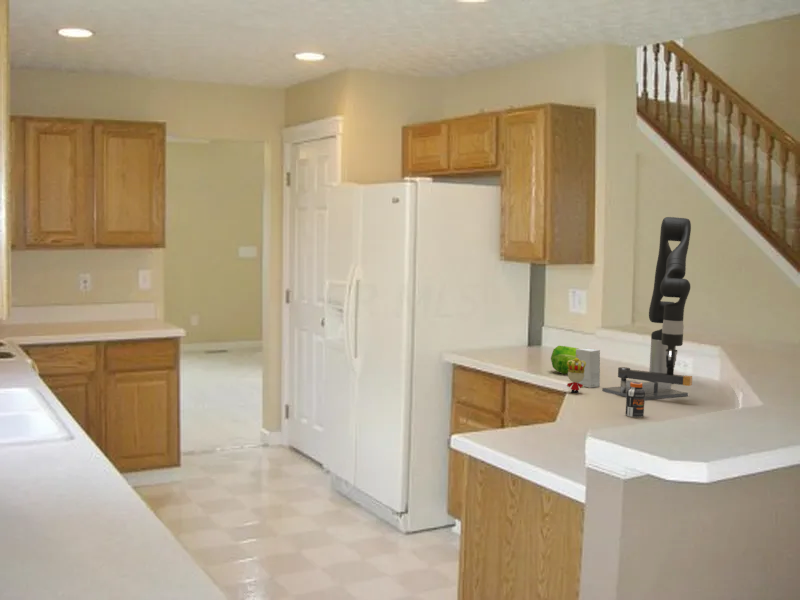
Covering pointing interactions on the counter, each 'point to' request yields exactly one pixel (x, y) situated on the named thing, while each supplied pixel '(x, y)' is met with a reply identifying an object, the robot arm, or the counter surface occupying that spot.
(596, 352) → the skincare box
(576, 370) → the toy
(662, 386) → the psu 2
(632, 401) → the pill bottle
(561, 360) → the lettuce
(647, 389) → the block
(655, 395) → the tray
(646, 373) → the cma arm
